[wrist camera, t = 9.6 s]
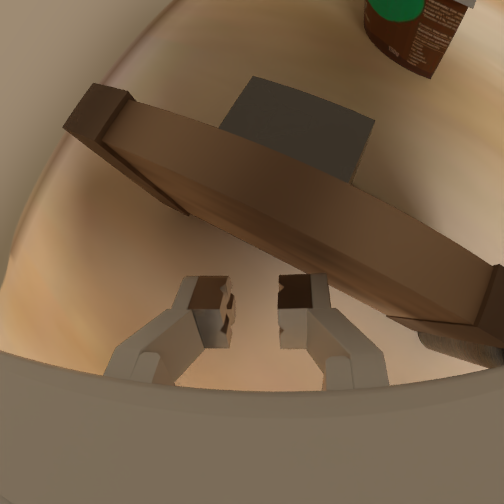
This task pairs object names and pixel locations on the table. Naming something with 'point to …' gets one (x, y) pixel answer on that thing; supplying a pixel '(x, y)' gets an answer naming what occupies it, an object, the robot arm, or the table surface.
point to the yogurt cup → (414, 30)
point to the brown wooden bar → (298, 216)
